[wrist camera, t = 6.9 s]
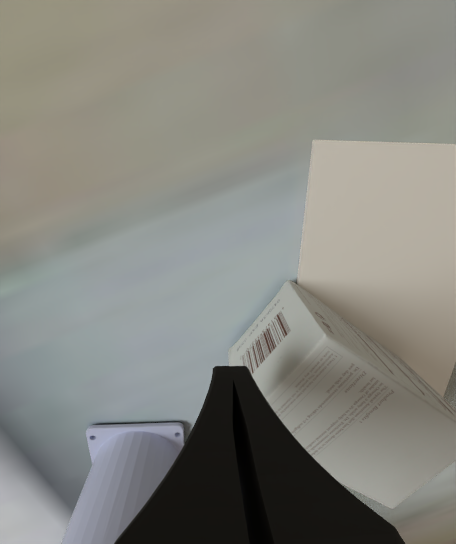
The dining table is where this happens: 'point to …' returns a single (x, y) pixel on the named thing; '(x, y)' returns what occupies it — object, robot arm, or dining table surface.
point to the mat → (386, 246)
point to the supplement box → (347, 398)
